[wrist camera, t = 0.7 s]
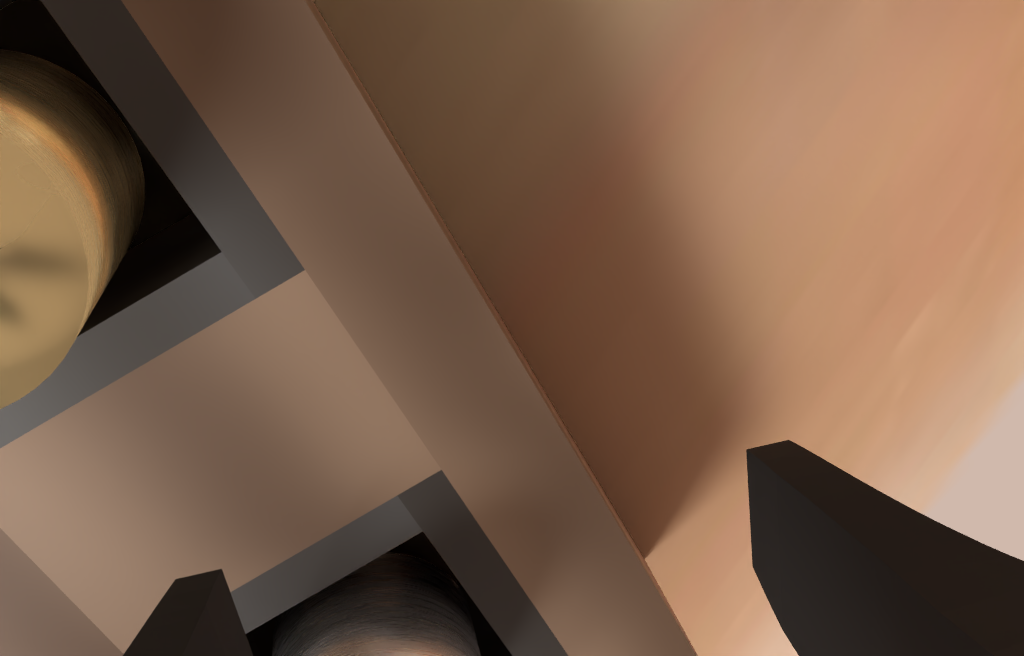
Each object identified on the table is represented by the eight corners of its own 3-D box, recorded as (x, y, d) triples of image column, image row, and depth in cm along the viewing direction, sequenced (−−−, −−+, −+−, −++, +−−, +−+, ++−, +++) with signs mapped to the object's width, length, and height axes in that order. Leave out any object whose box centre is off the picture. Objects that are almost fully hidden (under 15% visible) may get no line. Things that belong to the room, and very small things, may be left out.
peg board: (274, 774, 27) (268, 943, 22) (-396, 72, 18) (-637, 116, 13) (645, 560, 27) (714, 686, 22) (159, -258, 18) (108, -329, 13)
